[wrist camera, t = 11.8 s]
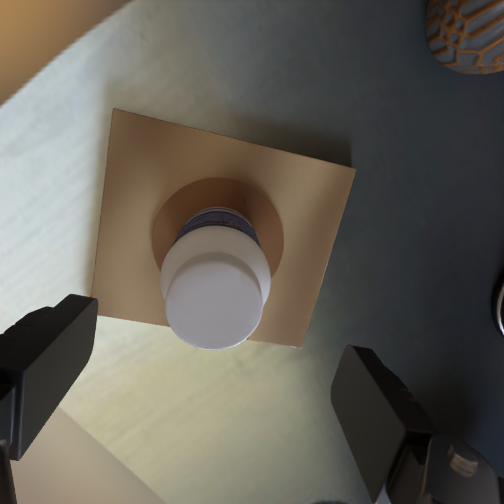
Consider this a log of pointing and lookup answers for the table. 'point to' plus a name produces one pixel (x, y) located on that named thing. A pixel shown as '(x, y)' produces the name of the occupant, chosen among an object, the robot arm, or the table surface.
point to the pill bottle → (215, 280)
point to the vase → (466, 34)
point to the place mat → (206, 196)
